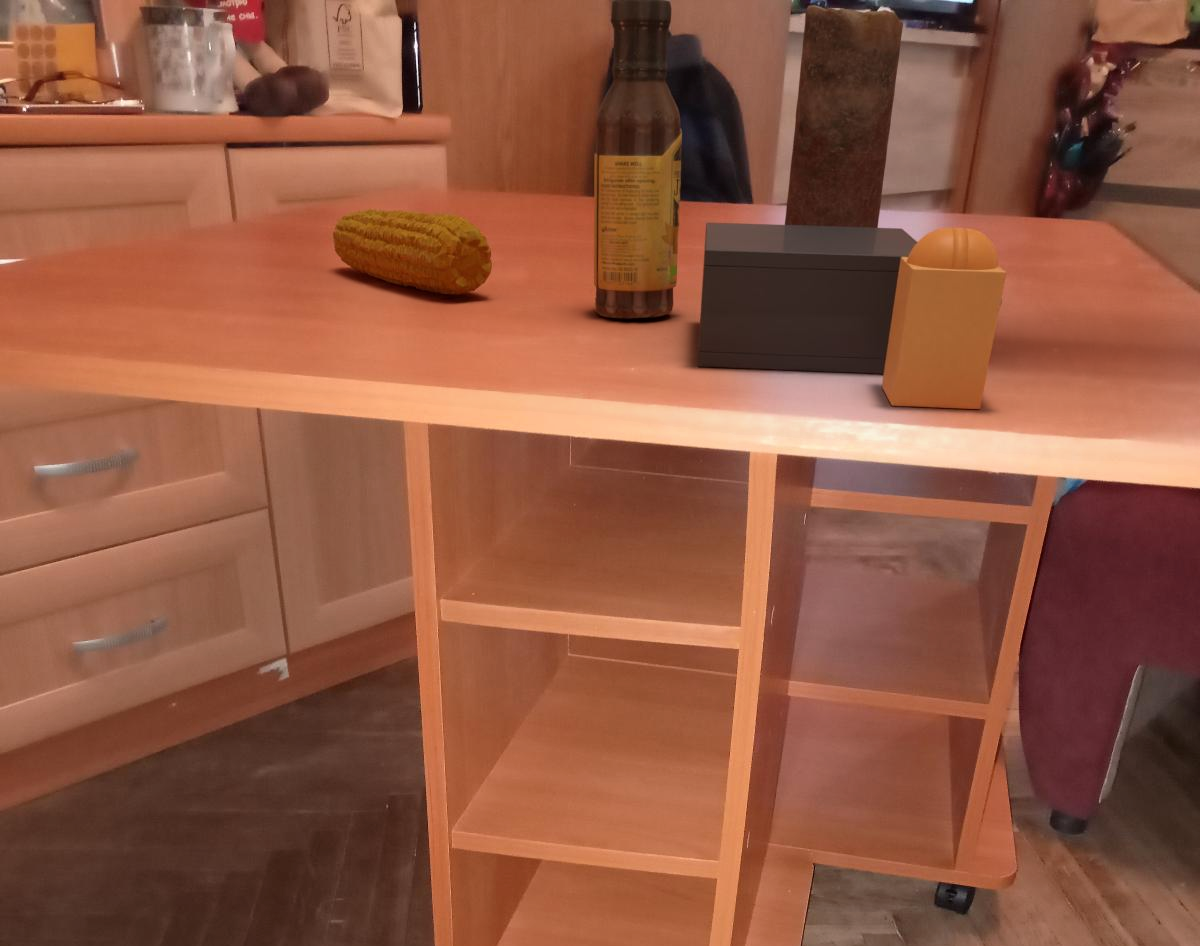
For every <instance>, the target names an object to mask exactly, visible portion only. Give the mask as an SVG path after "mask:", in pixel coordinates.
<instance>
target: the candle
mask: <svg viewBox="0 0 1200 946" xmlns="http://www.w3.org/2000/svg"><path fill="white" fill-rule="evenodd" d="M903 28H904V23H903V21H902V20H900V18H899V16H898V15H897V14H896V13H895V12H894V11H890V10H887V9H884V10H878V11H876V10H867V11H864V12H863V11H858V10H855V9H848V8H841V9H840V8H839V9H835V8H832V7H831V8H830V7H828V8H824V7H822V6H819V5H816V4H811V5H808V6H807V7H806V10H805V16H804V28H803V29H804V30H803V39H802V48H801V49H802V50H801V57H800V59H801V60H800V68H799V69H800V71H799V81H798V89H797V90H798V91H797V92H798V93H797V100H796V108H795V123H794V132H793V133H794V134H793V144H792V153H791V161H790V168H789V180H788V192H787V199H786V208H785V219H784V225H804V226H836V227H868V228H879V219H880V213H881V204H882V197H883V187H884V180H885V179H884V178H885V171H886V164H887V155H888V146H889V139H890V138H889V137H890V131H891V123H892V114H893V106H894V100H895V93H896V82H897V75H898V69H899V60H900V54H901V53H900V51H901V44H902V43H901V42H902V36H903Z"/></svg>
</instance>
